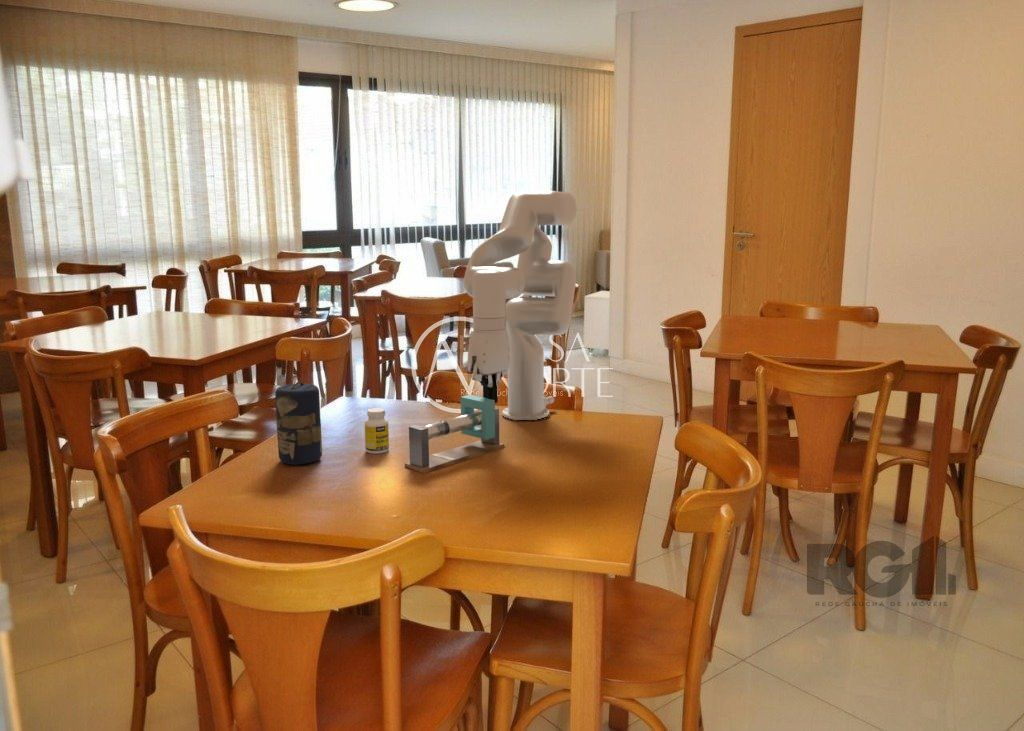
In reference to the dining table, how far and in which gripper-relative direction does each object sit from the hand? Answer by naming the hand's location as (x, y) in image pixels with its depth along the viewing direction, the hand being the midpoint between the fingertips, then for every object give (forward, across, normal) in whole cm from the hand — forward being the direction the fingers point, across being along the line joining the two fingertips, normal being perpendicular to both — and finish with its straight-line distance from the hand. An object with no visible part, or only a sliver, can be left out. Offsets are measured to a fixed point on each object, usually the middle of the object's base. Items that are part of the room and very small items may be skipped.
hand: (490, 402), depth 197 cm
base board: (+11, +11, 0) cm, 15 cm away
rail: (+11, +11, 0) cm, 15 cm away
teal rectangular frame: (+7, +4, 0) cm, 8 cm away
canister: (+11, +36, -24) cm, 45 cm away
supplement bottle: (+11, +20, -17) cm, 29 cm away
